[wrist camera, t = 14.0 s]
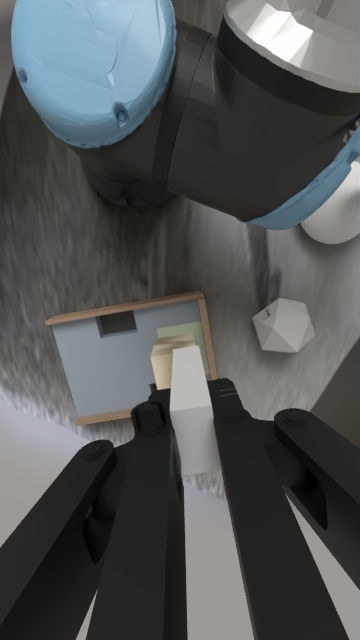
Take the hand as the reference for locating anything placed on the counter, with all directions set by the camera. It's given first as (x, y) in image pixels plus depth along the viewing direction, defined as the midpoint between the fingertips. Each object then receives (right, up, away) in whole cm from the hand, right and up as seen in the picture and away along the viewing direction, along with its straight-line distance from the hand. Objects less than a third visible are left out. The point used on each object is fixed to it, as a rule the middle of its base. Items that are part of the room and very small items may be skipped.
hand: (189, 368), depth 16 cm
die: (+15, +3, +30) cm, 34 cm away
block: (-1, -2, +28) cm, 28 cm away
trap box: (-7, -3, +31) cm, 32 cm away
